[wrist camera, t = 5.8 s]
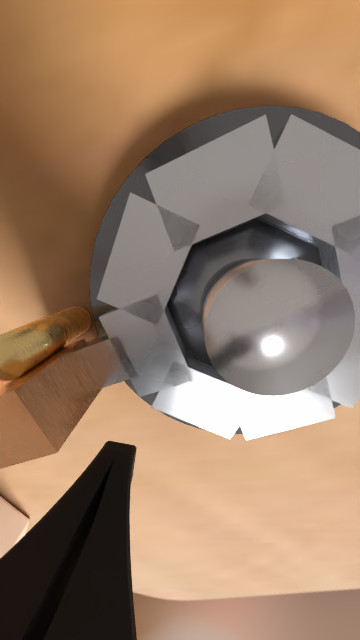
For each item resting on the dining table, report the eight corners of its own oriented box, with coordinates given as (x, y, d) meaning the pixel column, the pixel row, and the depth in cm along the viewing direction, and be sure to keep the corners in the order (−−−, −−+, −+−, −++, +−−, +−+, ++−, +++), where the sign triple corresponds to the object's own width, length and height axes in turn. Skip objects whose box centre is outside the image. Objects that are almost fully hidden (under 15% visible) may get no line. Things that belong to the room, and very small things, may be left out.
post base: (435, 162, 9) (796, 20, 4) (322, 424, 13) (412, 538, 8) (113, 117, 9) (2, -82, 4) (102, 388, 13) (42, 476, 8)
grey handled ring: (374, 76, 7) (634, -184, 3) (408, 379, 9) (557, 463, 6) (-26, 270, 9) (-185, 278, 5) (96, 461, 12) (50, 557, 8)
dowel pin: (91, 308, 12) (21, 342, 7) (91, 334, 12) (24, 383, 7) (64, 303, 12) (-26, 335, 7) (64, 330, 12) (-19, 377, 7)
